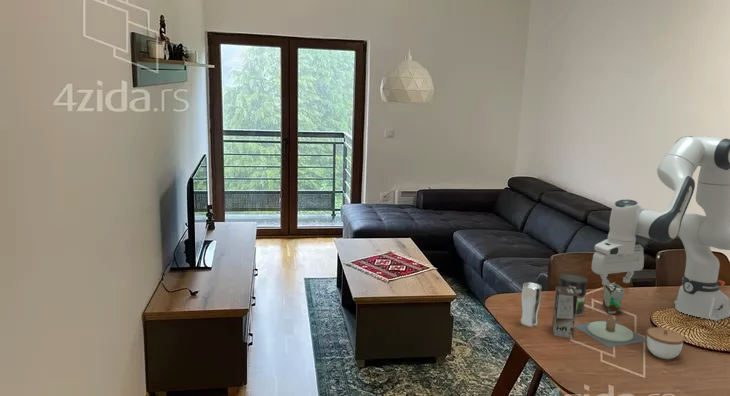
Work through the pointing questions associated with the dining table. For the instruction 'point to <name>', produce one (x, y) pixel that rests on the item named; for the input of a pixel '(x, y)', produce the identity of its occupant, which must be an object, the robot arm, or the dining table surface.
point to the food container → (612, 298)
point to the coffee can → (575, 288)
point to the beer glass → (530, 303)
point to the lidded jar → (664, 342)
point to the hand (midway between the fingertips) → (615, 283)
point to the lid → (610, 331)
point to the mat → (610, 344)
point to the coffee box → (564, 311)
